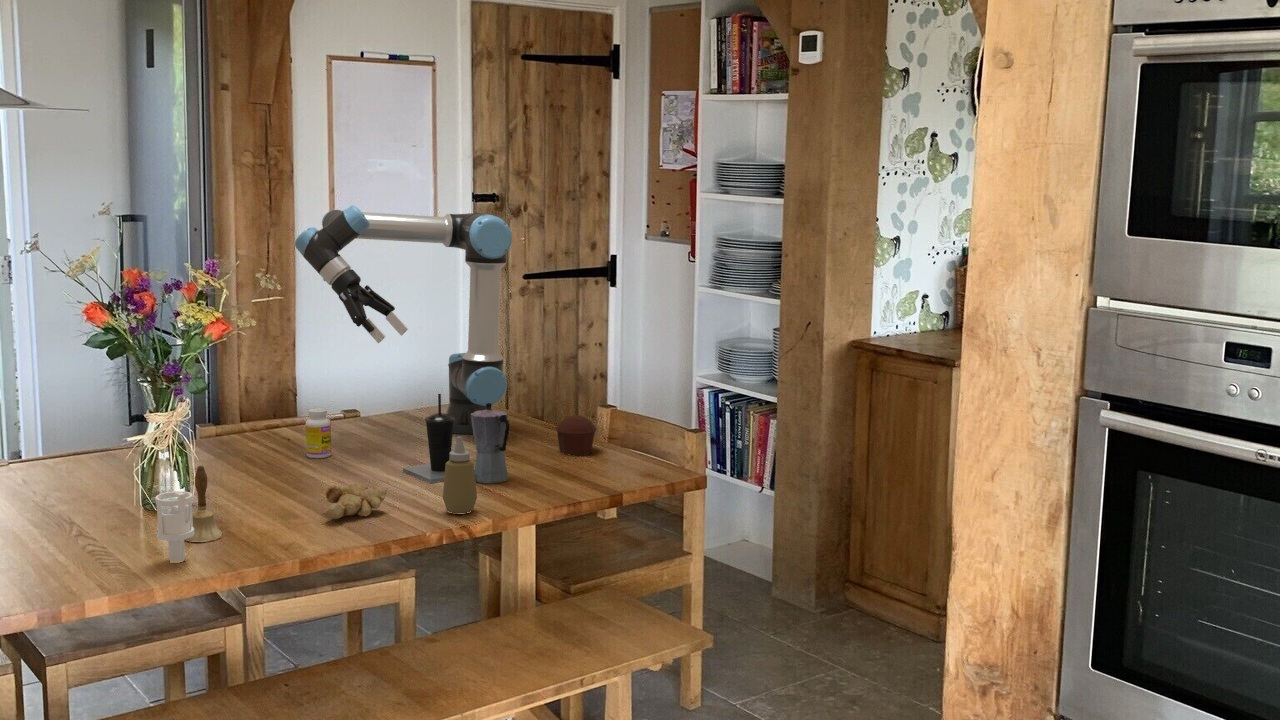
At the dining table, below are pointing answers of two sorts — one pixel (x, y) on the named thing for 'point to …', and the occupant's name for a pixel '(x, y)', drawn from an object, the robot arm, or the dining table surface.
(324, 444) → the supplement bottle
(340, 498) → the ginger root
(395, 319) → the robot arm
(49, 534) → the dining table surface
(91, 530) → the dining table surface
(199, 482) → the hand bell
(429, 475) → the slate coaster
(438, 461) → the drinking cup
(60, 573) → the dining table surface
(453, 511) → the squeeze bottle
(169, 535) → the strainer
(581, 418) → the muffin
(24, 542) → the dining table surface
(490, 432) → the moka pot
